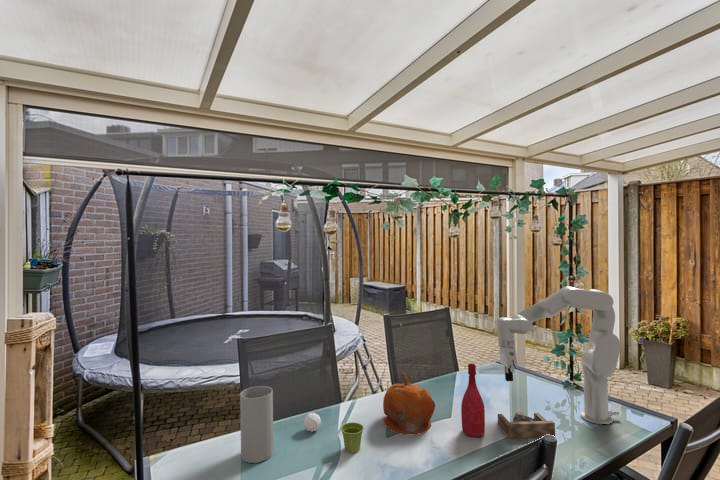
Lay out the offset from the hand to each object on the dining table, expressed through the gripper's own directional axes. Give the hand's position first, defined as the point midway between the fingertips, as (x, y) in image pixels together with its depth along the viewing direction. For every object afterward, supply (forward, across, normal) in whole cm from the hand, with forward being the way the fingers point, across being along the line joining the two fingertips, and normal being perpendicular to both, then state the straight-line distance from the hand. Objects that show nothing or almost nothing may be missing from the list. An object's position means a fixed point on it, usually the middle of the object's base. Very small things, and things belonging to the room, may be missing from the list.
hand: (509, 380), depth 181 cm
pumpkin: (+13, -8, +52) cm, 54 cm away
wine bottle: (+14, -19, +25) cm, 34 cm away
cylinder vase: (+10, -31, +116) cm, 121 cm away
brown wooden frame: (+15, -18, +2) cm, 23 cm away
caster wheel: (+16, -15, +1) cm, 22 cm away
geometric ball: (+11, -13, +96) cm, 98 cm away
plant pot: (+12, -29, +78) cm, 84 cm away
